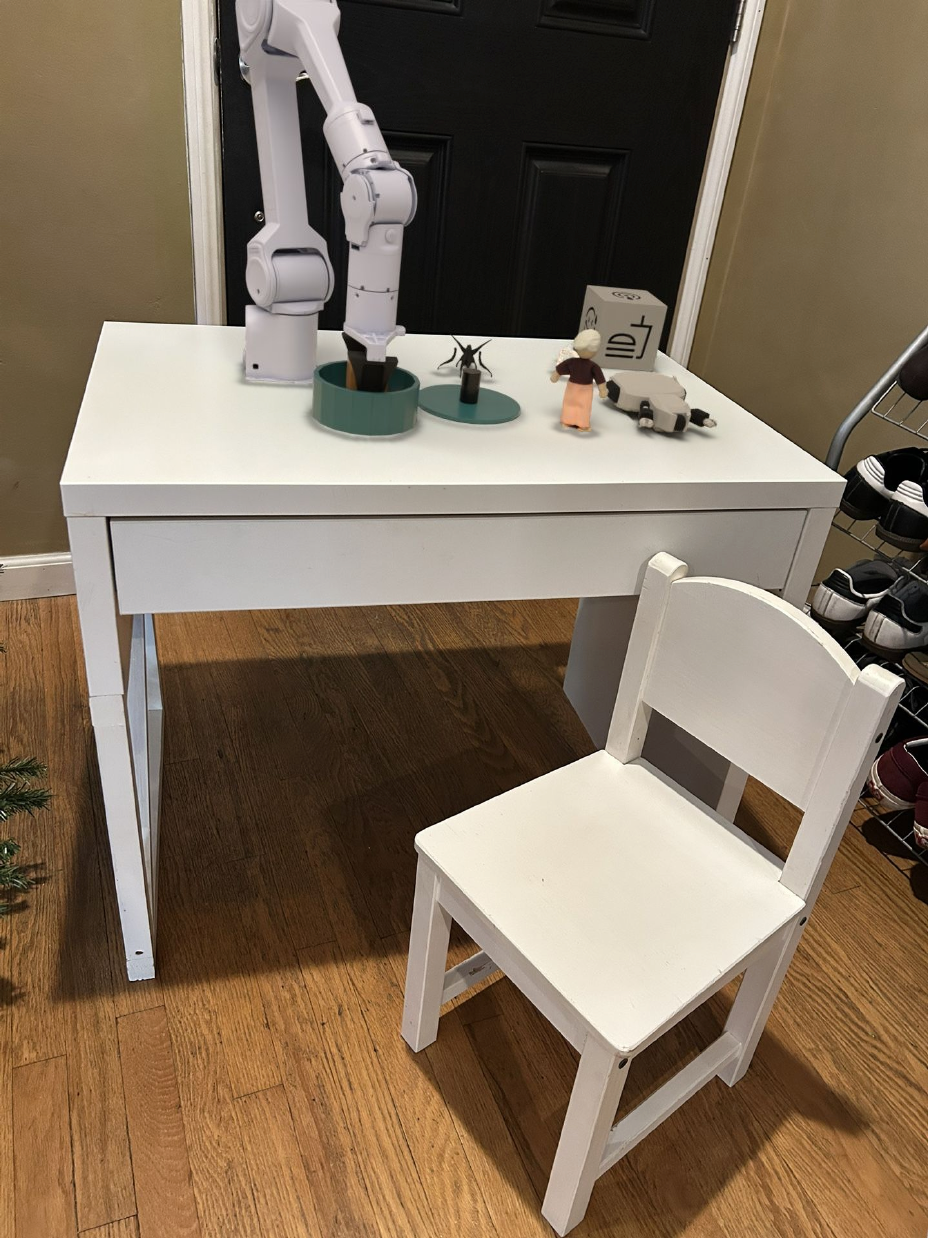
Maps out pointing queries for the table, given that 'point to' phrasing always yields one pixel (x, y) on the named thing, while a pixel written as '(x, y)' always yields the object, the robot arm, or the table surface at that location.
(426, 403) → the pot lid
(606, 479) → the table surface
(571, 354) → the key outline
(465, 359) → the creature
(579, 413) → the grandmother figurine
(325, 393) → the pot
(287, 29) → the robot arm
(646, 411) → the robot toy
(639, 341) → the icon cube
